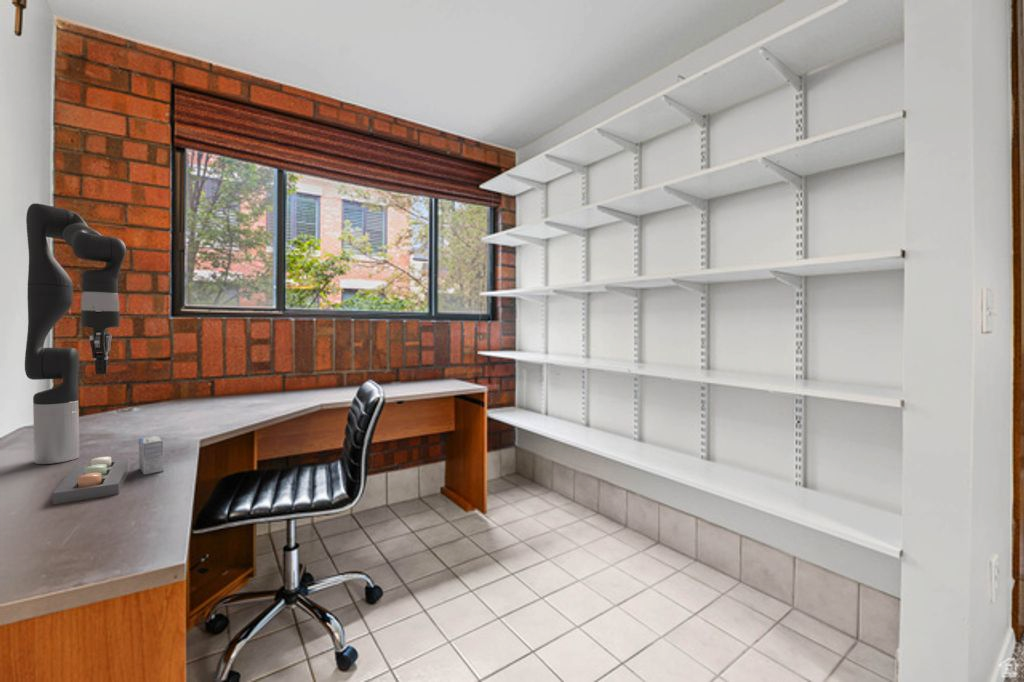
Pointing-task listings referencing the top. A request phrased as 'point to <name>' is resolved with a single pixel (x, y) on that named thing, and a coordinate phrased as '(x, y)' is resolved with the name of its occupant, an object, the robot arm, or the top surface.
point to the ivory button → (101, 461)
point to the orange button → (89, 480)
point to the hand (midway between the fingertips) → (101, 373)
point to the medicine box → (151, 455)
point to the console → (108, 485)
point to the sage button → (97, 469)
